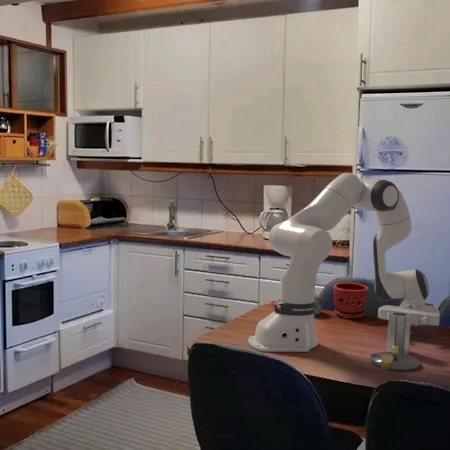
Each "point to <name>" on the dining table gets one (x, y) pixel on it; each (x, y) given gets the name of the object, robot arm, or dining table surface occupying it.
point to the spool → (317, 304)
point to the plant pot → (350, 299)
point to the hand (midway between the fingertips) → (405, 320)
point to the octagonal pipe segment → (399, 331)
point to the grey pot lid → (394, 360)
